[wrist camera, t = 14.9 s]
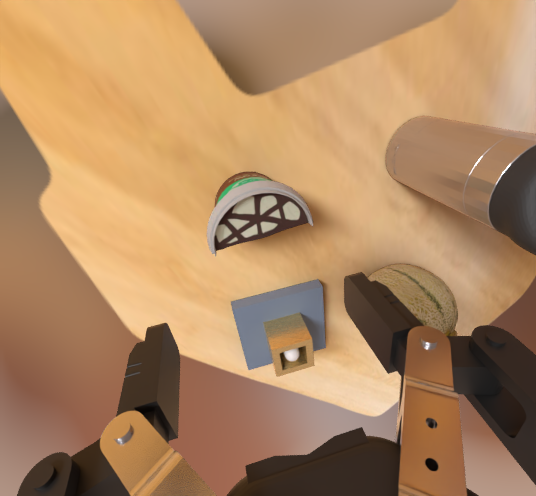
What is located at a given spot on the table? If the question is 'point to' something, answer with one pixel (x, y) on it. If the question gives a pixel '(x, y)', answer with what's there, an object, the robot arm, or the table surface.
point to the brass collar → (289, 343)
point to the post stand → (276, 306)
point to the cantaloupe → (421, 295)
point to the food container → (253, 210)
